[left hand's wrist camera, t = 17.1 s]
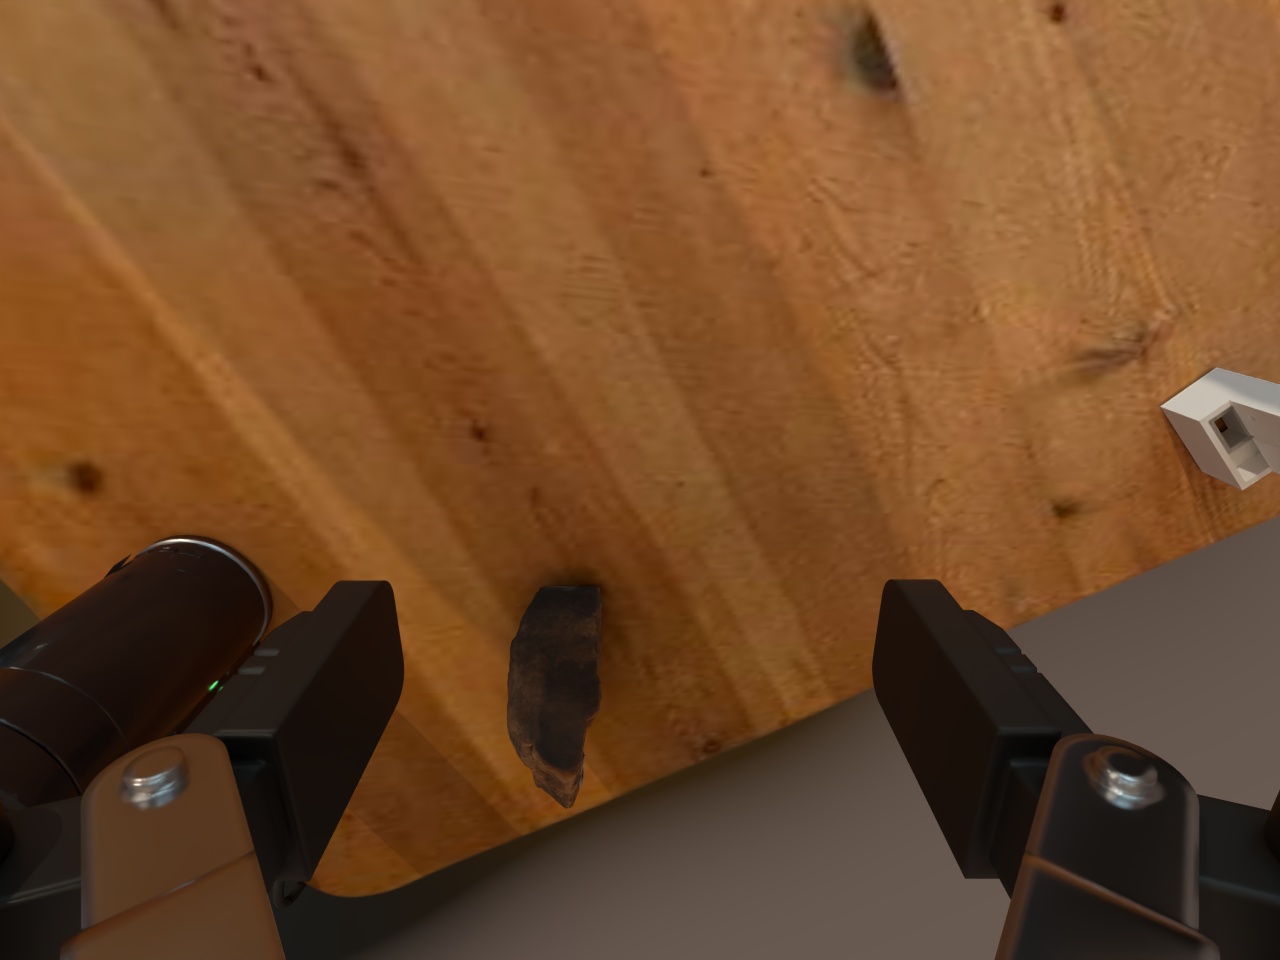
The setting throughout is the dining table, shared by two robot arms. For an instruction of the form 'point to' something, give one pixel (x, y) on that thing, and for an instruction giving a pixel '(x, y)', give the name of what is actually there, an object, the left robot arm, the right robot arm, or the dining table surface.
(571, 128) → the dining table surface
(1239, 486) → the white angled block
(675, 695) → the dining table surface
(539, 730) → the decorative rock
